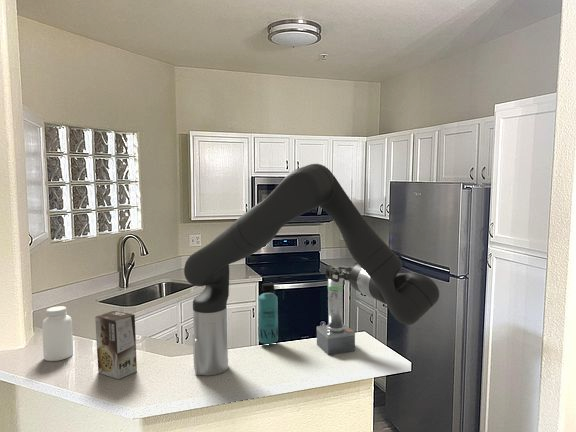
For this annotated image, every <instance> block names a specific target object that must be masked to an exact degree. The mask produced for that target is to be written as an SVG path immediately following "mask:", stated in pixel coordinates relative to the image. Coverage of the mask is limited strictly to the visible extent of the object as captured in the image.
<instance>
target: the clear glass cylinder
mask: <svg viewBox="0 0 576 432" xmlns="http://www.w3.org/2000/svg"><path fill="white" fill-rule="evenodd" d="M343 282H344V280H339V282H334V281H332V280H330V279H328V278H327V298H328V299H327V308H328V310H327V312H328V313H327V315H328V317H327V319H328V320H327V321H328V323H327V324H326V325H327V330H328V331H330V332H342V331H344V330H345V326H346V325H345V324H344V322H343V321H344V319H343V316H344V315H343V314H344V311H343V310H344V309H343V308H344V307H343V306H344V305H343V304H344V303H343V302H344V301H343V297H344V296H343V295H344V294H343V290H344V284H343ZM343 324H344V325H345V326H344V325H343Z"/></svg>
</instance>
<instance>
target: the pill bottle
mask: <svg viewBox="0 0 576 432" xmlns="http://www.w3.org/2000/svg"><path fill="white" fill-rule="evenodd" d="M45 313H46V317H45V318H44V319H43V321H42V322H41V323H42V324H41V327H42V328H41V329H42V352H43V354H42V355H43V359H44V360H45V361H46V362H58V361H62V360H65V359H68V358H70V357H71V356H73V354H74V341H73V320H72V319H73V318H72V317H71V315H68V312H67V307H66V306H62V305H61V306H60V305H58V306H52V307H49V308H47V309H46V311H45Z"/></svg>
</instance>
